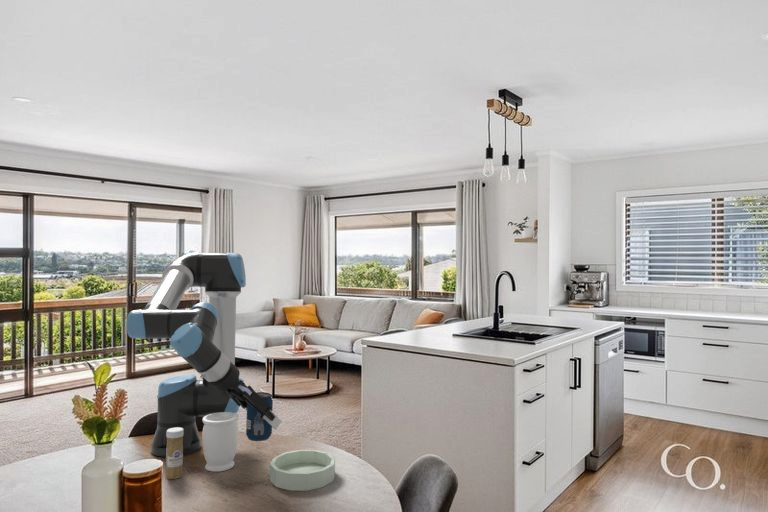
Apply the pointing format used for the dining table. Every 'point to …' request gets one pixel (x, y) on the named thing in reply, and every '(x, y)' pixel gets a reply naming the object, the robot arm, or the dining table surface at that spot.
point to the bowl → (302, 470)
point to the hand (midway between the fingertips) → (270, 422)
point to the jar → (220, 440)
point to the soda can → (258, 421)
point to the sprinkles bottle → (174, 452)
